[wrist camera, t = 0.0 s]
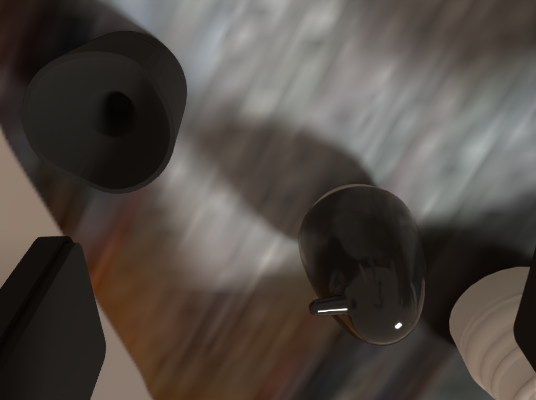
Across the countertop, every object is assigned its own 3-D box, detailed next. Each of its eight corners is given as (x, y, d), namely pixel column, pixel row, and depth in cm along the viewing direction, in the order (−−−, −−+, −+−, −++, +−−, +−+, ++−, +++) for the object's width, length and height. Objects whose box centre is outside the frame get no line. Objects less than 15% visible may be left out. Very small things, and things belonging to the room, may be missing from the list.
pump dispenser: (309, 156, 43) (334, 257, 29) (419, 179, 44) (492, 286, 31) (281, 250, 47) (291, 374, 34) (381, 269, 49) (429, 395, 35)
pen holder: (108, 154, 42) (70, 211, 33) (51, 48, 38) (-9, 82, 29) (209, 120, 41) (197, 170, 32) (163, 6, 37) (135, 29, 28)
